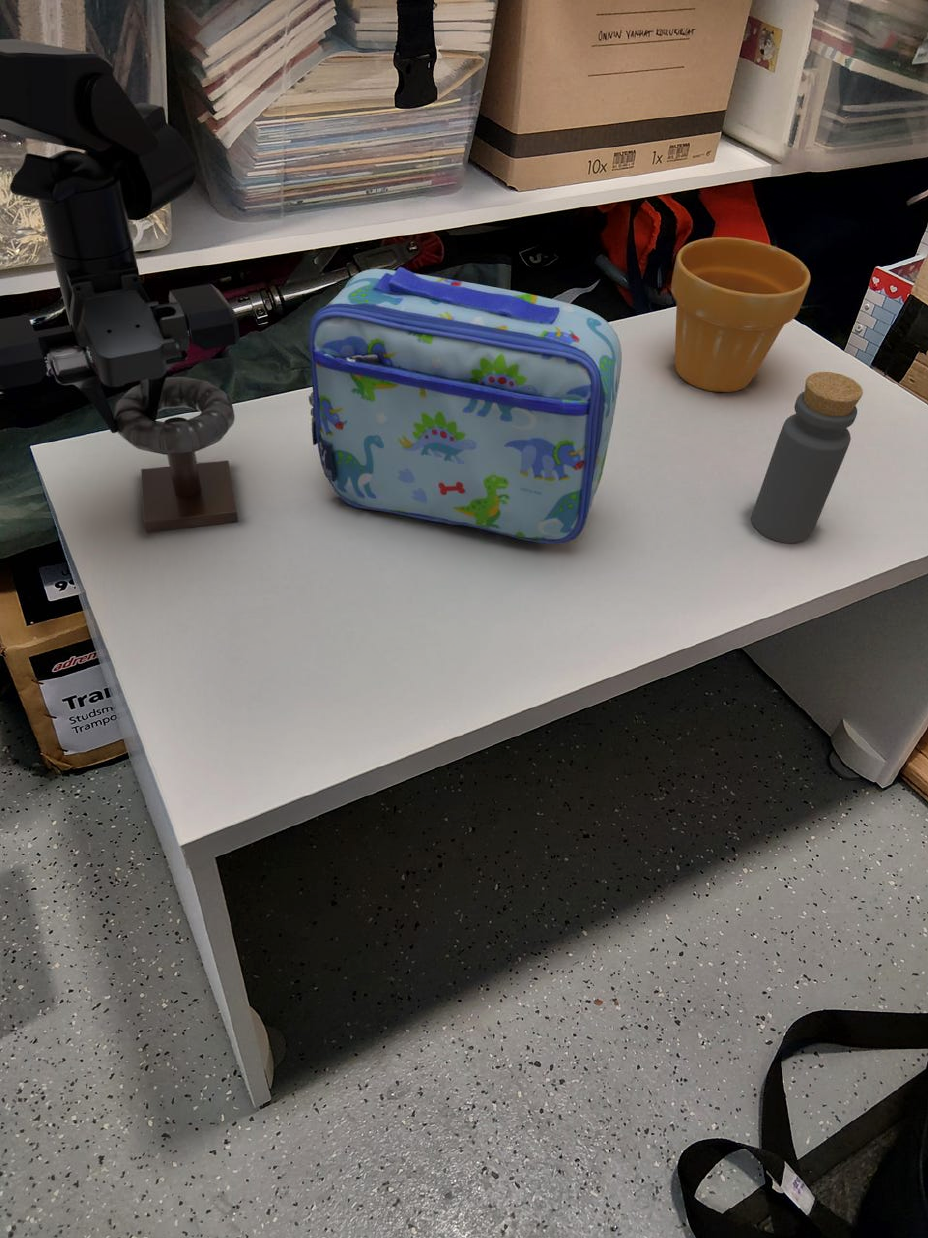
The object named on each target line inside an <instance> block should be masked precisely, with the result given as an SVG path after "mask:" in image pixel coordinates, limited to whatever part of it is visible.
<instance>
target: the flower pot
mask: <svg viewBox="0 0 928 1238" xmlns="http://www.w3.org/2000/svg"><path fill="white" fill-rule="evenodd" d="M810 283H811V273H810V271H809V268H808V267H807V265H805V264H804V262H803V261H802V260H800V259H799V258H798V257H796V256H794V254H792V253H790V252H788V251H786V250H784V249H781V248H779V247H776V246H774V245H771V244H769V243H764V242H761V241H757V240H752V239H746V238H740V237H728V236H727V237H726V236H725V237H723V236H720V237H706V238H700V239H697V240H694V241H691V242H688V243H687V244H685V245H684V246H682V247H681V248H680V250H678V252H677V254H676V258H675V263H674V266H673V272H672V276H671V283H670V292H671V295H672V297H673V298H674V300H675V301H676V307H675V308H676V310H675V311H676V313H675V341H674V342H675V343H674V345H675V347H674V348H675V349H674V367H675V368H674V369H675V371H676V373H677V375H678V376H679V377H681V379H682V380H684V381H685V382H687V383H688V384H689V385H692V386H694V387H696V388H698V389H702V390H705V391H710V392H723V393H731V392H737V391H740V390H743V389H745V388H747V387H748V385H749V384H750V383H751V381H752V380H753V379H754V377H755V375H756V373H757V372H758V370H759V368H761V367H760V366H761V365H762V363H763V362H764V360H765V359H766V357H767V355H768V354H769V351H770V350H771V348H772V347H773V345H774V343H775V342H776V339H777V338H778V336H779V334H780V333H781V331H782V330H783V328H784V326H785V325H787V324H788V323H790V322H791V321H793V320H794V319H795V318H796V317H797V316H798V314H799V312H800V309H801V307H802V305H803V303H804V299H805V297H806V294H807V292H808V288H809V286H810Z"/></svg>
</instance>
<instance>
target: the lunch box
mask: <svg viewBox="0 0 928 1238" xmlns="http://www.w3.org/2000/svg"><path fill="white" fill-rule="evenodd" d="M308 347H309V359H310V371H311V384H312V385H311V386H312V392H311V393H310V395H308V402H309V405H310V406H312V408H310V416H311V417H312V418H311V435H312V436H311V437H312V445H313V446H316V445H317V449H318V454H319V460H320V464H321V467H322V470H323V473H324V474H323V475H324V476H325V478H326V479H327V481H328V482H329V485H331V487H332V489H333V490H334V491H335V493H336V495H338V497H339V498H340V499H341V500H342V501H343V502H344V503H346V504H348V505H349V506H352V507H353V508H354V507H355V508H358V509H362V510H363V509H364V510H370V511H380V512H383V513H390V514H396V515H400V516H401V515H402V516H406V517H410V518H415V519H419V520H420V519H421V520H426V521H430V522H437V523H444V524H448V525H452V526H453V525H454V526H455V525H456V526H467V527H470V528H476V529H480V530H484V531H488V532H492V533H496V534H499V535H503V536H506V537H507V536H508V537H511V538H515V539H519V540H523V541H527V542H531V543H538V544H539V543H540V544H551V545H552V544H554V545H555V544H565V543H569V542H571V541H574V540H575V539H576V538H577V537H578V536H579V535H580V534H581V533H582V531H583V529H584V528H585V524H586V522H587V519H588V515H589V512H590V510H591V509H592V506H593V502H594V499H595V496H596V493H597V491H598V488H599V485H600V483H601V478H602V476H603V472H604V469H605V468H604V467H605V463H606V459H607V454H608V450H609V449H608V448H609V444H610V438H611V434H612V433H611V432H612V428H613V423H614V418H615V417H614V416H615V410H616V404H617V398H618V395H619V394H618V393H619V388H620V381H621V373H622V363H623V362H622V358H623V357H622V355H623V354H622V344H621V341H620V338H619V336H618V334H617V332H616V331H615V329H614V327H613V326H612V325H611V324H610V323H609V322H608V321H607V320H606V319H604V318H603V317H601V316H600V315H599V314H597V313H595V312H593V311H592V310H589V309H586V308H585V307H581V306H579V305H576V304H573V303H569V302H566V301H561V300H557V299H554V298H548V297H544V296H540V295H535V294H531V293H526V292H522V291H518V290H511V289H506V288H502V287H494V286H489V285H484V284H479V283H474V282H467V281H463V280H462V281H461V280H456V279H451V278H450V279H449V278H444V277H440V276H433V275H426V274H420V273H415V272H412V271H410V270H408V269H406V268H404V267H402V266H400V267H398V268H397V270H393V269H386V268H385V269H384V268H371V269H365V270H363V271H360V272H359V273H357V274H355V275H354V276H352V277H351V278H350V279H349V280H348V281H347V283H346V285H345V286H344V287H343V289H341V291H339V293H338V294H337V295H336V296H335V297H333V299H332V300H331V301H330V302H328V303H327V304H326V306H323V307H321V308H320V309H318V310H317V311H316V312H315V313H314V314H313V315H312V318H311V320H310V326H309V333H308Z"/></svg>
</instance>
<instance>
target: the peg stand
mask: <svg viewBox="0 0 928 1238" xmlns="http://www.w3.org/2000/svg"><path fill="white" fill-rule="evenodd" d="M186 420H188V419H187V418H184V417H179V416H175V417H170V418H167V419H165V420H164V421H163V422H165V423H168V422H179V421H186ZM166 456H167V461H168V466H160V467H151V468H141V470H140V471H141V473H140V474H141V493H142V511H143V524H144V530H145V532H146V533H153V532H161V531H162V532H163V531H169V530H170V531H171V530H179V529H187V528H196V527H204V526H205V527H206V526H212V525H213V526H214V525H222V524H230V523H238V522H239V518H238V512H237V511H238V510H237V505H236V499H235V498H236V497H235V493H234V486H233V480H232V474H231V468H230V461H229V460H228V459H227V460H220V461H219V460H218V461H210V462H198V461H197V454H196V452H190V453H180V454H170V455H166Z"/></svg>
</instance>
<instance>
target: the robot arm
mask: <svg viewBox="0 0 928 1238" xmlns="http://www.w3.org/2000/svg"><path fill="white" fill-rule="evenodd" d="M114 72H115V69H114V67H113V64H112V63H110V61H109V60H108V59H107V58H106V57H103V56H102V55H101V54H98V53H95V52H89V51H83V50H79V49H74V48H73V49H72V48H68V47H61V46H57V45H51V44H45V43H41V42H34V41H29V40H25V39H18V38H11V39H10V38H9V39H8V38H7V39H6V38H5V39H0V130H2V131H4V132H7V133H9V134H12V135H14V136H16V137H20V138H24V139H28V140H34V141H38V142H42V143H48V144H52V145H57V146H62V147H66V148H72V149H66V150H62V151H59V152H57V153H55V154H52V155H51V156H44V155H39V154H35V153H29V152H28V153H26V154H25V155H24V160H23V163H22V165H21V167H20V168H19V170H18V171H17V172H15V173H14V175H13V177H12V180H11V183H10V184H9V190H10V192H11V193H12V194H13V195H14V196H18V197H19V196H20V197H23V198H29V199H33V200H37V201H38V202H37V203H38V206H39V209H40V214H41V218H42V221H43V225H44V229H45V233H46V237H47V240H48V241H47V242H48V245H49V249H50V253H51V257H52V260H53V265H54V268H55V272H56V273H55V274H56V276H57V280H58V284H59V288H60V293H61V296H62V300H63V304H64V308H65V312H66V315H67V320H68V323H69V325H63V326H58V327H52V328H47V329H42V330H35V329H34V327H33V324H32V322H31V320H30V317H29V315H28V314H23V315H17V316H11V317H4V318H0V390H9V389H13V388H18V387H23V386H29V385H35V384H38V383H41V382H42V380H43V379H44V377H45V376H46V375H47V374H48V372H49V369H48V365H49V367H50V370H51V372H52V374H53V376H54V378H55V381H56V382H57V383H58V384H59V385H60V386H70V385H73V386H74V387H76V388H78V389H79V390H80V391H81V392H82V393H83V394H84V395H85V396H86V398H87V399H88V400H89V401H90V402H91V404H92V405H93V406H94V408H95V410H96V412H97V413H98V414H99V416H100V417H101V419H102V420H103V422H104V423H105V425H106V426H107V427H108V429H109V430H110V432H111V433H112V434H116V433H117V434H118V432H117V428H116V423H115V417H114V413H113V411H112V409H111V407H110V404H109V401H108V399H107V397H106V394H105V392H104V389H103V387H102V384H103V385H105V386H107V387H110V388H118V387H124V386H125V385H126V384H129V383H134V382H138V381H139V385H140V386H141V394H142V401H143V405H144V409H145V413H146V416H147V417H148V418H149V419H151V420H155V421H157V417H158V412H159V411H158V408H159V403H160V398H161V394H162V389H163V385H164V382H165V380H166V378H168V374H169V372H170V370H171V369H172V368H174V367H175V365H178V364H180V363H181V364H182V363H185V362H186V361H187V359H188V354H189V353H188V352H187V351H189V350H190V346H191V345H190V340H191V342H192V344H194V345H195V346H197V347H198V348H200V349H201V350H203V351H208V350H213V349H218V348H224V347H228V346H233V345H236V344H237V343H239V341H240V340H241V337H240V329H239V321H238V318H237V314H236V312H235V310H234V309H233V307H232V306H231V304H230V303H229V302H228V300H227V299H226V298H225V297H224V295H223V293H222V292H221V291H220V290H219V289H218V288H217V287H215V285H213V284H212V283H208V284H201V285H195V286H189V287H184V288H177V289H172V290H169V292H168V293H169V294H168V301H169V302H168V303H163V304H160V303H159V302H158V300H155V301H151V299H150V298H149V296H148V294H147V292H146V291H145V288H144V287H143V283H142V278H141V276H140V271H139V267H138V263H137V257H136V256H137V255H136V251H135V245H134V242H133V241H134V240H133V236H132V231H131V225H130V221H141V220H143V219H146V218H148V217H149V216H151V215H153V214H155V213H156V212H157V211H159V210H160V209H162V208H164V207H165V206H167V205H169V204H171V203H172V202H174V201H175V200H177V199H178V198H180V197H181V196H183V195H185V194H186V193H187V192H188V191H189V190H190V189H191V188H192V187H193V185H194V183H195V179H196V173H197V171H196V170H197V166H196V165H197V164H196V160H195V157H194V155H193V154H192V153H191V150H190V148H189V146H188V143H187V142H186V141H185V139H184V137H182V135H181V134H180V133H179V131H178V130H176V129H175V128H174V127H173V126H171V125H170V124H169V123H167V118H166V112H165V111H166V110H165V108H164V107H163V106H162V105H158V104H157V105H156V104H151V103H146V102H142V101H141V102H138V103H136V104H134V102H132V100H131V99H130V97H129V96H128V94H127V93H126V91H125V90H124V89H123V87H122V86H121V85H120V83H119V81H117V79H116V77H115V75H114ZM73 149H77V150H73ZM79 150H81V151H84V152H81V151H79ZM88 351H89V353H88ZM89 354H90V356H91V359H92V361H93V363H92V361H91V359H90V357H89ZM45 358H46V359H45ZM46 361H47V362H48V365H47V362H46ZM93 364H94V365H93ZM94 366H95V367H94ZM101 383H102V384H101Z"/></svg>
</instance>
